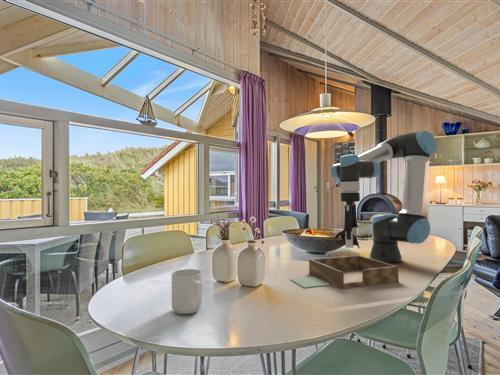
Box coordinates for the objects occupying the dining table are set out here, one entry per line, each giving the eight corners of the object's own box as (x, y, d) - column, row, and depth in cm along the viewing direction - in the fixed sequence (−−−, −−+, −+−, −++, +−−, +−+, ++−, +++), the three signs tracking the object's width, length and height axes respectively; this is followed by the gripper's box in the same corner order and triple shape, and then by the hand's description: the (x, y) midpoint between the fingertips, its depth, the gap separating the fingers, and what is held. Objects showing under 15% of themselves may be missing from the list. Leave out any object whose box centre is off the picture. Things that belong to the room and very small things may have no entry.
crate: (359, 268, 145) (358, 255, 145) (398, 281, 122) (398, 266, 122) (309, 273, 137) (309, 259, 137) (341, 288, 114) (341, 272, 114)
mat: (314, 277, 130) (314, 276, 130) (330, 285, 119) (330, 284, 119) (290, 279, 126) (290, 278, 127) (304, 288, 115) (304, 287, 115)
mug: (166, 309, 95) (166, 272, 95) (191, 302, 101) (191, 267, 101) (186, 320, 86) (186, 280, 87) (213, 312, 92) (213, 274, 92)
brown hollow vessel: (363, 251, 126) (355, 235, 124) (342, 261, 128) (333, 245, 126) (356, 237, 138) (347, 222, 136) (336, 246, 140) (328, 232, 138)
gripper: (345, 191, 142) (347, 240, 142) (335, 192, 122) (336, 249, 122) (363, 191, 139) (364, 241, 139) (355, 192, 118) (357, 250, 118)
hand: (351, 245), depth 130 cm, fingers closed on brown hollow vessel, 10 cm apart
